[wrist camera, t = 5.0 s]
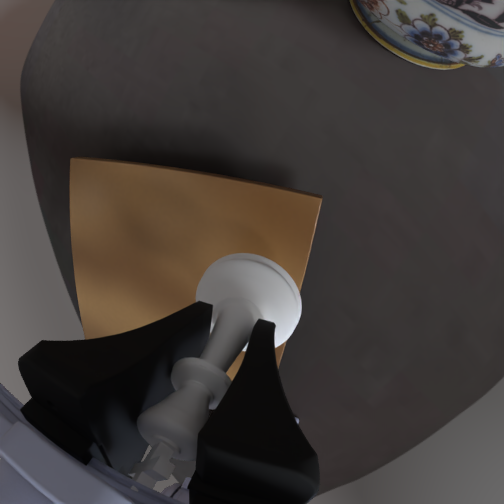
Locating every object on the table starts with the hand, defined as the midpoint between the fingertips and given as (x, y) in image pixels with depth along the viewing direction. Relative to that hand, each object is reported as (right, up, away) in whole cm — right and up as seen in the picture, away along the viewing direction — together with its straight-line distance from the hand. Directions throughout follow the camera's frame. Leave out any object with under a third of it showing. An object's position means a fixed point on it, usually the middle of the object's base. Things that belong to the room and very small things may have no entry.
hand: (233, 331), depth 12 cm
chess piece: (+1, +1, +2) cm, 3 cm away
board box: (-4, +1, +11) cm, 12 cm away
